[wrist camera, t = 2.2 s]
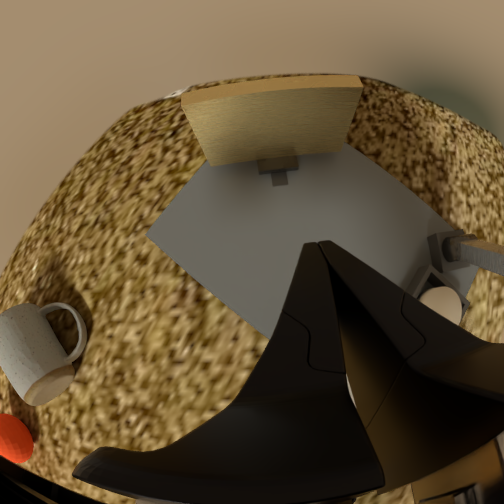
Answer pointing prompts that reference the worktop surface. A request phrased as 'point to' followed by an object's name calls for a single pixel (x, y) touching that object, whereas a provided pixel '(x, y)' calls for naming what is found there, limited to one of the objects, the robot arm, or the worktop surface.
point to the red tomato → (15, 439)
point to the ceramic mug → (37, 352)
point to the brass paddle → (273, 119)
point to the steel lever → (474, 252)
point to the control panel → (302, 230)
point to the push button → (443, 302)
